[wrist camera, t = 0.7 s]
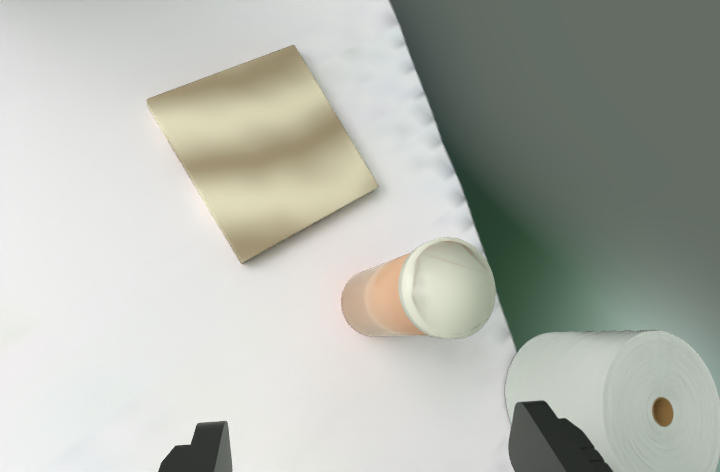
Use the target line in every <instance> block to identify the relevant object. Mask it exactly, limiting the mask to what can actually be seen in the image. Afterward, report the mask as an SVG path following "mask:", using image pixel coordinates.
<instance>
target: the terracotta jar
mask: <svg viewBox="0 0 720 472" xmlns="http://www.w3.org/2000/svg"><path fill="white" fill-rule="evenodd" d="M495 293H496V292H495V282H494V277H493V274H492V271H491V269H490V266H489V265H488V263H487V261H486V260H485V258H484V257H483V255H482V254H481V253H480V252H479V251H478V250H477V249H476V248H475V247H473V246H472V245H470V244H469V243H467V242H465V241H463V240H460V239H456V238H450V237H444V238H438V239H435V240H432V241H429V242H427V243H425V244H422V245H420V246H419V247H417V248H416V249H414V250H413V251H412V252H411V253H409V254H406V255H404V256H401V257H399V258H396V259H394V260H391V261H389V262H386V263H383V264H381V265H378V266H376V267H373V268H371V269H368V270H366V271H363V272H360V273H358V274H356V275H355V276H353V277H352V278H351V279H350V280H349V281H348V283H347V284H346V286H345V288H344V290H343V293H342V298H341V306H342V311H343V315H344V317H345V319H346V321H347V322H348V324H349V325H350V326H351V327H352V328H353V329H354V330H356V331H357V332H359V333H361V334H363V335H367V336H411V335H429V336H432V337H435V338H441V339H458V338H464V337H467V336H470V335H472V334H474V333H475V332H477V331H478V330H479V329H481V328H482V327H483V326H484V324H485V323H486V322H487V320H488V319H489V317H490V315H491V313H492V310H493V307H494V302H495Z"/></svg>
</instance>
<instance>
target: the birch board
mask: <svg viewBox="0 0 720 472" xmlns="http://www.w3.org/2000/svg"><path fill="white" fill-rule="evenodd" d="M147 105H148V108H149V110H150V111H151V113H152V115H153V116H154V118H155V120H156V121H157V123H158V125H159V127H160V128H161V130H162V132H163V133H164V135H165V137H166V138H167V140H168V142H169V143H170V145H171V147H172V148H173V150H174V152H175V153H176V155H177V157H178V158H179V160H180V162H181V163H182V165H183V167H184V168H185V170H186V172H187V174H188V175H189V177H190V179H191V180H192V182H193V184H194V185H195V187H196V189H197V190H198V192H199V194H200V195H201V197H202V199H203V200H204V202H205V204H206V205H207V207H208V209H209V210H210V212H211V214H212V216H213V217H214V219H215V221H216V222H217V224H218V226H219V227H220V229H221V231H222V232H223V234H224V236H225V237H226V239H227V241H228V242H229V244H230V246H231V247H232V249H233V251H234V252H235V254H236V256H237V257H238V259H239V261H240V263H241V264H242V263H244V262H246V261H248V260H249V259H251V258H253V257H255V256H257V255H258V254H260V253H262V252H264V251H266V250H267V249H269V248H271V247H273V246H275V245H276V244H278V243H280V242H282V241H284V240H285V239H287V238H289V237H291V236H293V235H294V234H296V233H298V232H300V231H302V230H303V229H305V228H307V227H309V226H311V225H313V224H314V223H316V222H318V221H320V220H322V219H323V218H325V217H327V216H329V215H331V214H332V213H334V212H336V211H338V210H340V209H341V208H343V207H345V206H347V205H349V204H350V203H352V202H354V201H356V200H358V199H359V198H361V197H363V196H365V195H367V194H368V193H370V192H372V191H374V190H375V189H376V188H377V187H379V186H378V184H377V183H376V181H375V179H374V178H373V176H372V174H371V173H370V171H369V169H368V168H367V166H366V164H365V163H364V161H363V159H362V157H361V156H360V154H359V152H358V151H357V149H356V147H355V146H354V144H353V142H352V141H351V139H350V137H349V136H348V134H347V132H346V131H345V129H344V127H343V126H342V124H341V122H340V121H339V119H338V117H337V116H336V114H335V112H334V111H333V109H332V107H331V106H330V104H329V102H328V101H327V99H326V97H325V96H324V94H323V92H322V91H321V89H320V87H319V86H318V84H317V82H316V80H315V79H314V77H313V75H312V74H311V72H310V70H309V69H308V67H307V65H306V64H305V62H304V60H303V59H302V57H301V55H300V54H299V52H298V50H297V49H296V47H295V45H292V46H289V47H286V48H284V49H281V50H278V51H276V52H273V53H270V54H267V55H265V56H262V57H259V58H257V59H254V60H251V61H249V62H246V63H243V64H240V65H238V66H235V67H232V68H230V69H227V70H224V71H222V72H219V73H216V74H213V75H211V76H208V77H205V78H203V79H200V80H197V81H195V82H192V83H189V84H186V85H184V86H181V87H178V88H176V89H173V90H170V91H168V92H165V93H162V94H159V95H157V96H154V97H151V98H149V99H147Z"/></svg>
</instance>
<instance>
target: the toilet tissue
mask: <svg viewBox="0 0 720 472" xmlns="http://www.w3.org/2000/svg"><path fill="white" fill-rule="evenodd" d="M505 399H506V404H507V411H508V414H509V418H510V422H511V424H512V419H513V413H514V408H515V404H516V403H517V402H524V401H539V400H544V401H546V402H547V403H548V405H549V406H550V407H551V409H552V410H553V412H554V413H555V414H556V416H557V417H558V419H559V418H566V419H568V420H569V421H570V422H572V423H573V424H574V425H575V426H577V427H578V428H579V429H581V430H582V431H583V432H584V433H585V435H586V436H587V437H588V439H589V440H590V441H591V443H592V444H593V445H594V448H595V450H597V451H598V452H599V453H600V455H601V456H602V457H603V459H604V462H605V463H607V464H608V465H609V467H610V468H611V469H612V470H613V472H716V469H717V465H718V461H719V457H720V399H719V395H718V392H717V389H716V386H715V382H714V380H713V378H712V376H711V374H710V372H709V370H708V368H707V367H706V365H705V363H704V362H703V360H702V359H701V357H700V356H699V355H698V354H697V353H696V352H695V351H694V350H693V348H691V346H689V345H688V344H687V343H686V342H684V341H683V340H682V339H680V338H678V337H676V336H674V335H672V334H670V333H667V332H665V331H659V330H645V331H644V330H642V331H641V330H640V331H630V330H626V331H601V332H594V331H587V332H577V331H574V332H552V333H544V334H541V335H538V336H536V337H534V338H532V339H531V340H529V341H528V342H527V343H526V344H525V345H524V346H523V347H521V348H520V350H519V351H518V353H517V354H516V356H515V357H514V359H513V362H512V364H511V366H510V367H509V369H508V376H507V379H506V385H505Z"/></svg>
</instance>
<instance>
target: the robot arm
mask: <svg viewBox="0 0 720 472" xmlns="http://www.w3.org/2000/svg"><path fill="white" fill-rule="evenodd" d="M509 456H510V460H511V464H512V466H513V468H514V470H515V472H613V470H612V469H611V468H610V467H609V465H608V464H607V463H605V462H604V459H603V457H602V456H601V455H600V453H599V452H598V451H597V450H595V448H594V445H593V444H592V443H591V441H590V440H589V439H588V437H587V436H586V435H585V433H584V432H583V431H582V430H581V429H579V428H578V427H577V426H575V425H574V424H573V423H572V422H570V421H569V420H568V419H566V418H559V419H558V417H557V416H556V414H555V413H554V412H553V410H552V409H551V407H550V406H549V405H548V403H547V402H546V401H544V400H539V401H524V402H517V403H516V404H515V408H514V413H513V419H512V426H511V432H510V438H509ZM158 472H232V459H231V449H230V440H229V430H228V423H227V421H219V422H205V423H198V424H197V426H196V428H195V432H194V435H193V439H192V442H191V445H179V446H175V447H174V448H173V449H172V451H171V452H170V453H169V454H168V455H167V457H166V458H165V459H164V460H163V461H162V463H161V465H160V468H159V471H158Z"/></svg>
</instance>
